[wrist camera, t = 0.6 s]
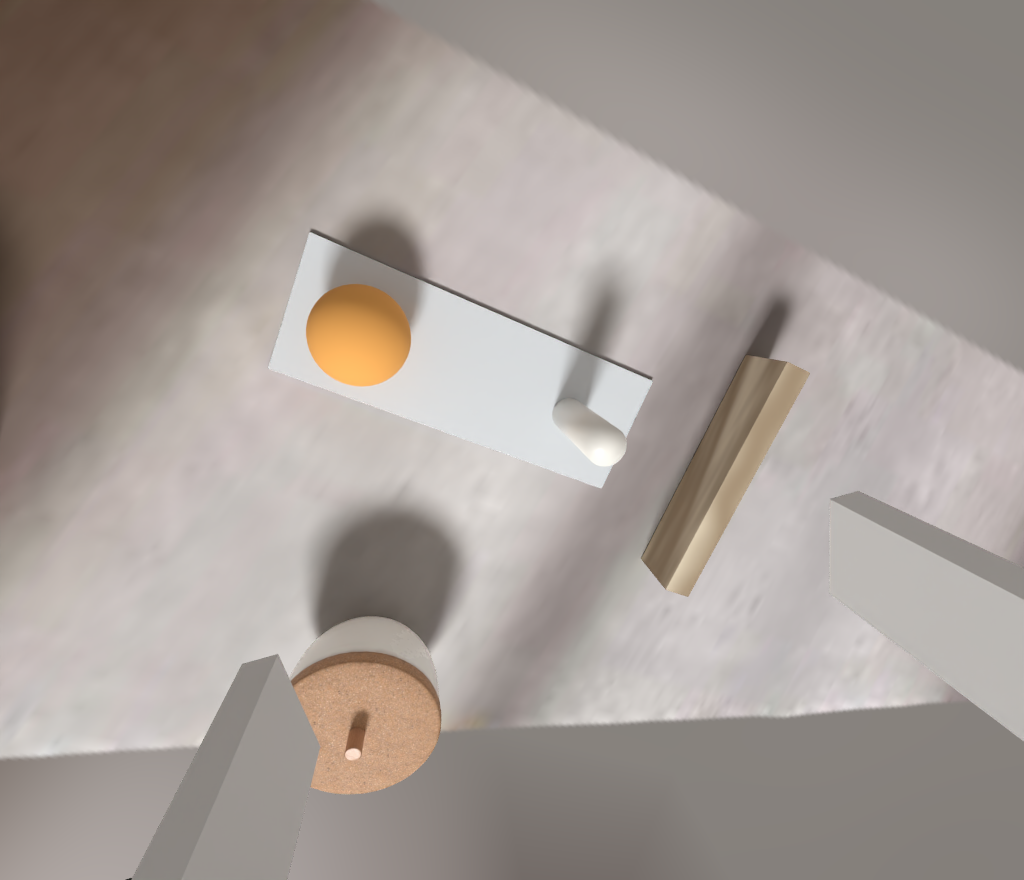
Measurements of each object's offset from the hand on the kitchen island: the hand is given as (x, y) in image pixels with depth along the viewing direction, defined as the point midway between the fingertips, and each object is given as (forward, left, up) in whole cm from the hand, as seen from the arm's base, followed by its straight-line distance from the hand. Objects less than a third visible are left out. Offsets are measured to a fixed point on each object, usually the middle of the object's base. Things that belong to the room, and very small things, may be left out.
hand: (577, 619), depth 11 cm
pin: (+4, +5, -24) cm, 25 cm away
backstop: (+13, +13, -24) cm, 30 cm away
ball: (-8, -4, -21) cm, 23 cm away
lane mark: (-2, 0, -24) cm, 24 cm away
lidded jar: (+13, -17, -25) cm, 33 cm away
